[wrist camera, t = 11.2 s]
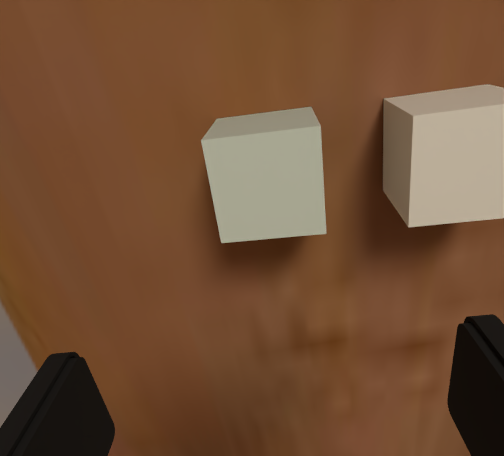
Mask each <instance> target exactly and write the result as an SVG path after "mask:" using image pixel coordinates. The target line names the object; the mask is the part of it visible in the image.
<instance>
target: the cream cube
mask: <svg viewBox="0 0 504 456" xmlns="http://www.w3.org/2000/svg"><path fill="white" fill-rule="evenodd" d="M383 191H384V193H385V194H386V196H387V197H388V199H389V200H390V201H391V203H392V204H393V206H394V207H395V209H396V210H397V212H398V213H399V215H400V216H401V217H402V219H403V220H404V222H405V223H406V225H407V226H408V227H418V226H428V225H438V224H449V223H459V222H469V221H479V220H489V219H499V218H504V88H502V87H498V86H493V85H489V84H486V85H479V86H472V87H465V88H457V89H450V90H443V91H436V92H428V93H421V94H414V95H407V96H400V97H392V98H385V99H384V107H383Z"/></svg>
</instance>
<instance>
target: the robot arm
mask: <svg viewBox="0 0 504 456" xmlns="http://www.w3.org/2000/svg"><path fill="white" fill-rule="evenodd" d="M448 408H449V411H450V414H451V416H452V419H453V420H454V422H455V424H456V426H457V428H458V430H459V432H460V434H461V436H462V438H463V440H464V442H465V444H466V446H467V448H468V450H469V452H470V454H471V456H504V324H503V323H502V322H501V321H500V319H499V318H498V317H496V316H495V315H493V314H492V315H481V316H470V317H466V319H465V321H464V323H462V324H459V325H458V328H457V335H456V342H455V349H454V356H453V364H452V371H451V378H450V385H449V393H448ZM114 434H115V427H114V423H113V421H112V419H111V416H110V414H109V412H108V410H107V408H106V405H105V403H104V401H103V399H102V396H101V394H100V392H99V390H98V388H97V385H96V383H95V381H94V379H93V376H92V374H91V372H90V370H89V367H88V365H87V363H86V361H85V359H84V358H83V357H79V355H78V354H77V353H76V352H68V353H57V354H51V355H50V356H49V357H48V358H47V359H46V360H45V362H44V363H43V365H42V366H41V368H40V369H39V371H38V372H37V374H36V375H35V377H34V379H33V380H32V381H31V383H30V384H29V386H28V387H27V389H26V390H25V392H24V393H23V395H22V396H21V398H20V399H19V401H18V402H17V404H16V405H15V407H14V408H13V410H12V411H11V413H10V414H9V416H8V417H7V419H6V420H5V422H4V423H3V425H2V426H1V428H0V456H108V453H109V450H110V448H111V445H112V442H113V439H114Z"/></svg>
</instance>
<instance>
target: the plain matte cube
mask: <svg viewBox="0 0 504 456" xmlns="http://www.w3.org/2000/svg"><path fill="white" fill-rule="evenodd" d="M201 142H202V147H203V152H204V157H205V163H206V168H207V173H208V178H209V183H210V188H211V193H212V198H213V204H214V209H215V214H216V219H217V224H218V229H219V234H220V239H221V243H229V242H240V241H251V240H262V239H273V238H284V237H295V236H306V235H317V234H326V218H325V200H324V181H323V162H322V143H321V126H320V124H319V122H318V119H317V117H316V115H315V113H314V111H313V109H312V107H305V108H298V109H290V110H282V111H274V112H266V113H259V114H251V115H243V116H235V117H228V118H220V119H216V121H215V122H214V123H213V125H212V126H211V128H210V129H209V130H208V132H207V133H206V134H205V136H204V137H203V139H202V140H201Z"/></svg>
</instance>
